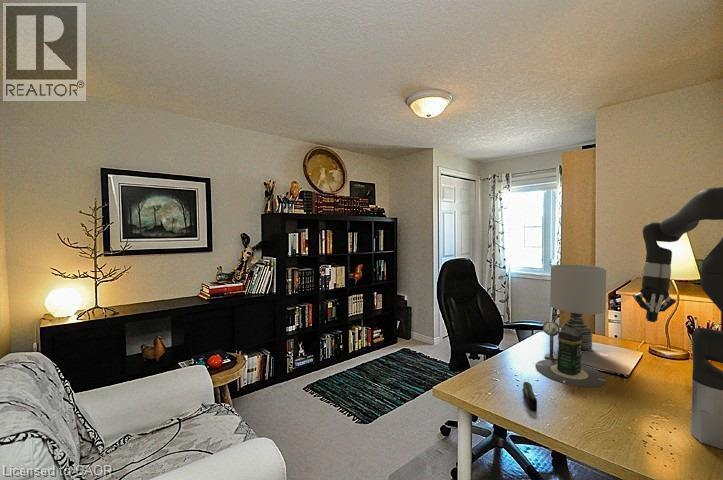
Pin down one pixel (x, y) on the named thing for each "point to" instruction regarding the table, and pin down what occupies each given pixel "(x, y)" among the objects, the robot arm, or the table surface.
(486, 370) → the table surface
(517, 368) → the table surface
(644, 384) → the table surface
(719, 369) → the robot arm
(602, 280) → the lamp
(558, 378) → the mat
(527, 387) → the dark elongated block
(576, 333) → the coffee jar
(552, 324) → the dial gauge
